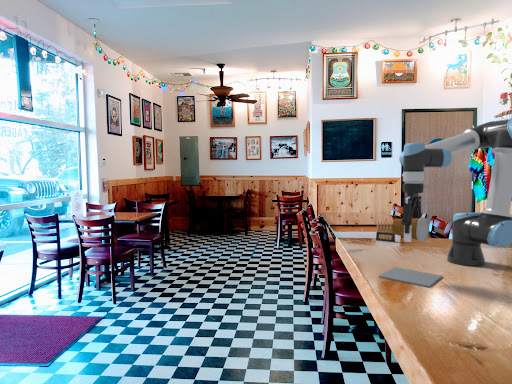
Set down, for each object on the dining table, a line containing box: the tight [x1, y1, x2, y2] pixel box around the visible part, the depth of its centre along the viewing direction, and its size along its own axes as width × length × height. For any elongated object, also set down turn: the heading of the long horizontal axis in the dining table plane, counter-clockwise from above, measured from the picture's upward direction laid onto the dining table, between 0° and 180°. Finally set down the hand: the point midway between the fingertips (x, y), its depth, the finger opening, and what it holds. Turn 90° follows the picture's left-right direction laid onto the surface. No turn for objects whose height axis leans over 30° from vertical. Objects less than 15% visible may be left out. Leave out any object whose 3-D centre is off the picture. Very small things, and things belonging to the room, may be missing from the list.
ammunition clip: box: [375, 220, 396, 243], centre depth 220 cm, size 11×2×12 cm, turn 62°
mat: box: [378, 266, 443, 288], centre depth 148 cm, size 17×19×1 cm
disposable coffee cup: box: [392, 216, 430, 243], centre depth 147 cm, size 10×10×12 cm
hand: (411, 239), depth 147 cm, fingers closed on disposable coffee cup, 8 cm apart
